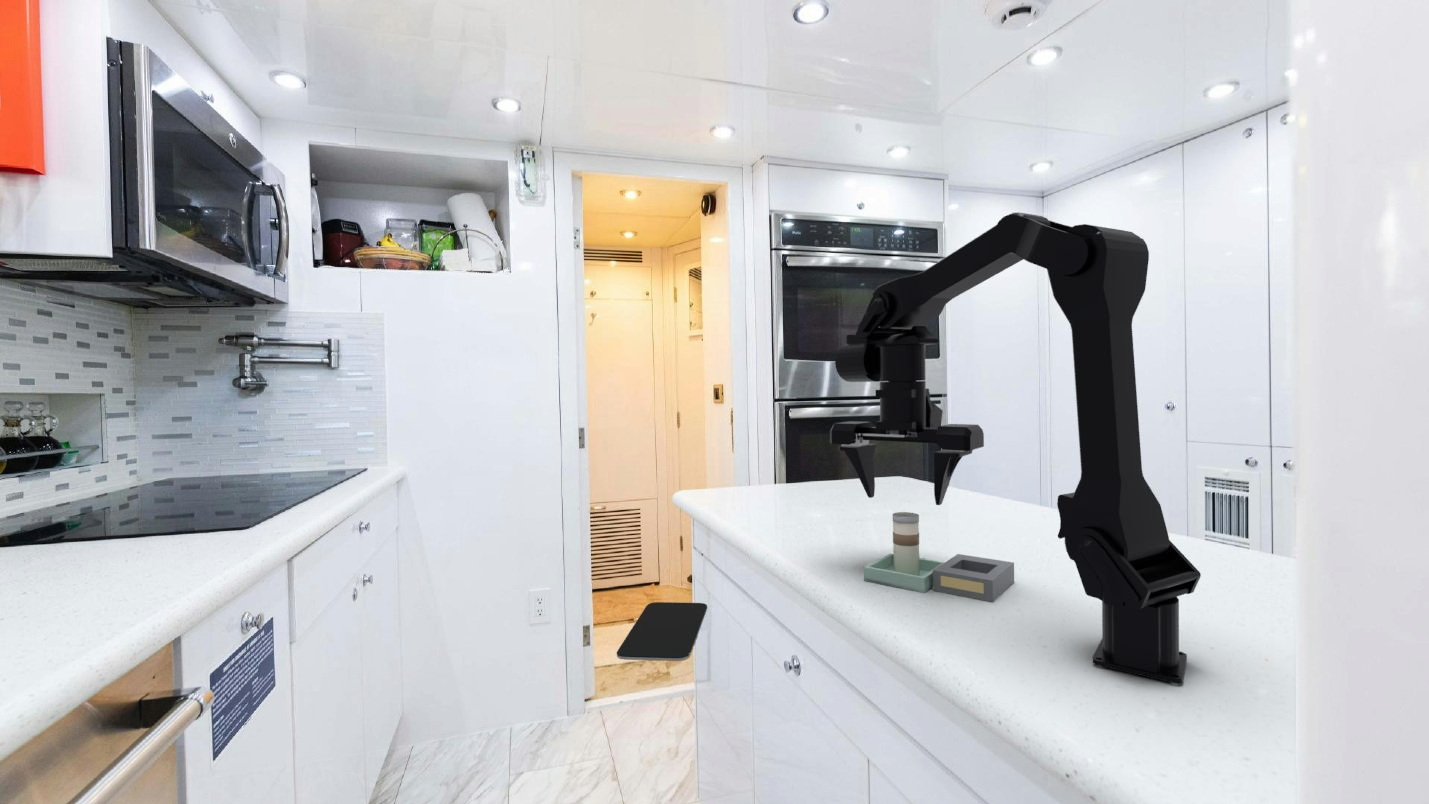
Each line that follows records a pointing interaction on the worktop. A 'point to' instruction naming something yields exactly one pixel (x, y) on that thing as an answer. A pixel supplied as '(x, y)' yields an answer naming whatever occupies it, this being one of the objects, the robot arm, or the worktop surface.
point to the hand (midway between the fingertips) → (903, 500)
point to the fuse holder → (974, 577)
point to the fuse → (906, 542)
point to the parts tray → (901, 574)
